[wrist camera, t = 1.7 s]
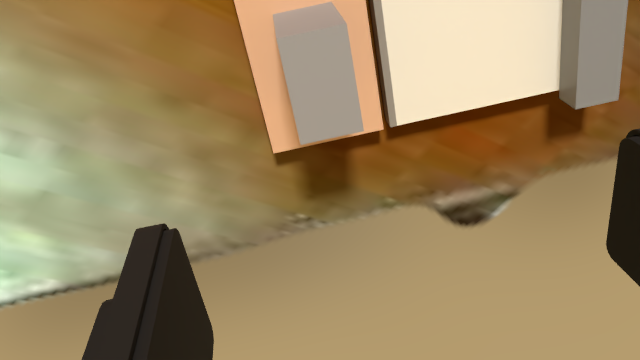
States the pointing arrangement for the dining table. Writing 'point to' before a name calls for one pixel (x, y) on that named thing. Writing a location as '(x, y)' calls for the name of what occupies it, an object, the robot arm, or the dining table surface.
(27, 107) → the dining table surface
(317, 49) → the pink base grey block
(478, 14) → the base
